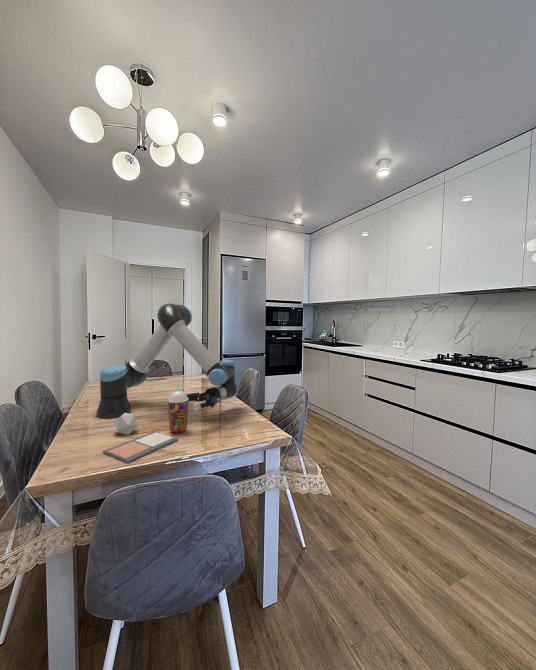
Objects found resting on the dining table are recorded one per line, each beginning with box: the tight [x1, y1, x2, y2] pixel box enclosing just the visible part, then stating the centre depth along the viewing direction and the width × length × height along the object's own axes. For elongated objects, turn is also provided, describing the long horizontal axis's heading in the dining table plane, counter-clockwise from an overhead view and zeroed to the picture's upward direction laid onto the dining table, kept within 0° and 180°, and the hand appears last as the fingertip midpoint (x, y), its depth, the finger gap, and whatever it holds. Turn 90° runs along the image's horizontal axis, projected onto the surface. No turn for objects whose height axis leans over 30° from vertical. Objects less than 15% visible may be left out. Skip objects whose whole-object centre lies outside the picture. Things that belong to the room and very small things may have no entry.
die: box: [114, 413, 139, 436], centre depth 117 cm, size 8×9×10 cm
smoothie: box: [167, 383, 189, 435], centre depth 119 cm, size 8×8×20 cm
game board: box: [102, 431, 179, 464], centre depth 105 cm, size 14×21×1 cm, turn 150°
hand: (182, 405), depth 120 cm, fingers open, 13 cm apart
